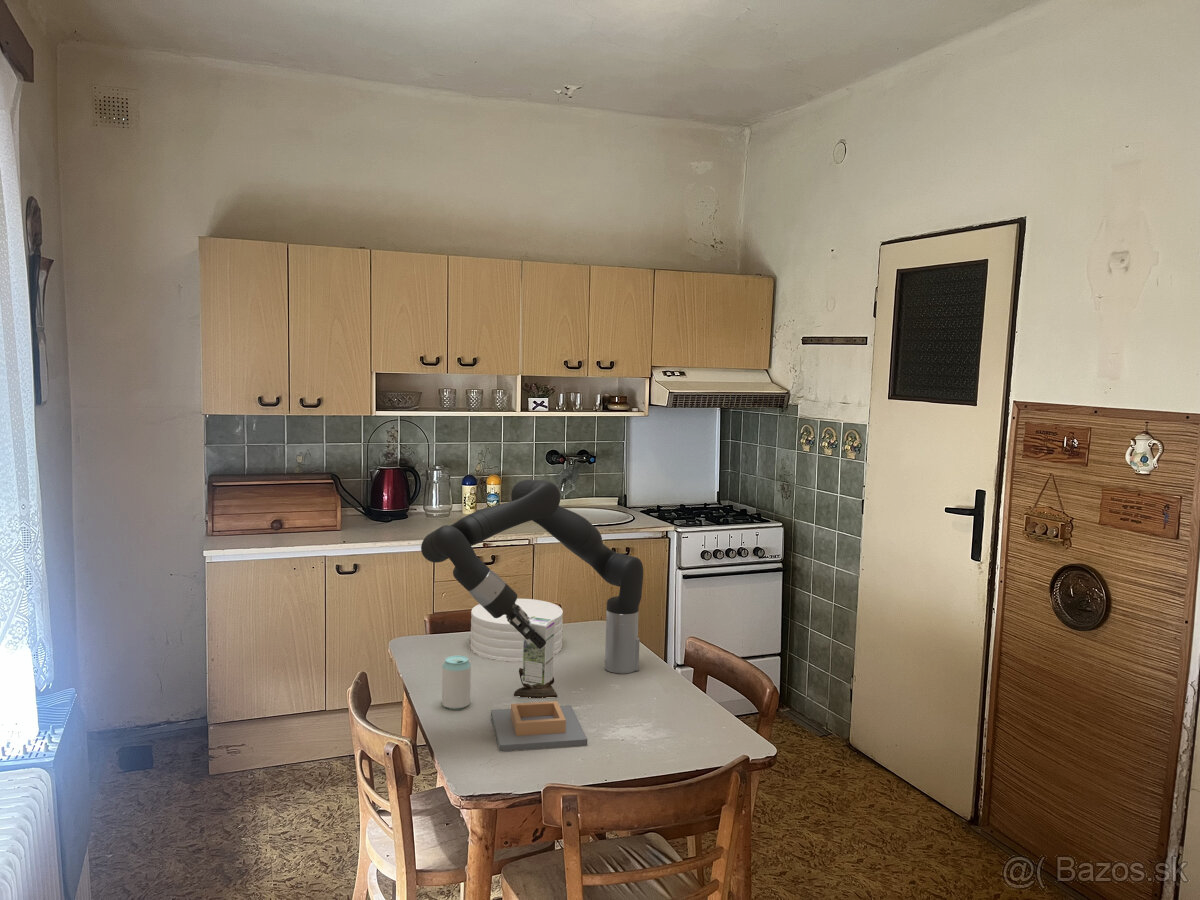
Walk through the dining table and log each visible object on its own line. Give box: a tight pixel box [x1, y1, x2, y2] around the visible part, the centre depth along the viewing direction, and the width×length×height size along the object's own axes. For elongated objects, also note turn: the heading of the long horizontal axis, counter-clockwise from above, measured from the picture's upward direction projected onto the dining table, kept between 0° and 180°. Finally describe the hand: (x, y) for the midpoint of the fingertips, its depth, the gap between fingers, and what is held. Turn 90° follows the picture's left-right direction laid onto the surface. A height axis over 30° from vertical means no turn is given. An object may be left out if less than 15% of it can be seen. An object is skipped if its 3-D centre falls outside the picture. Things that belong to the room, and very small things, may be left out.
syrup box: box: [522, 616, 555, 685], centre depth 198 cm, size 6×6×14 cm
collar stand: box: [490, 700, 588, 752], centre depth 199 cm, size 20×20×4 cm
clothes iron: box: [513, 667, 558, 699], centre depth 221 cm, size 7×11×10 cm, turn 108°
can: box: [441, 655, 472, 710], centre depth 213 cm, size 7×7×12 cm
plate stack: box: [470, 598, 564, 662], centre depth 260 cm, size 28×28×12 cm
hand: (540, 640), depth 198 cm, fingers closed on syrup box, 8 cm apart
